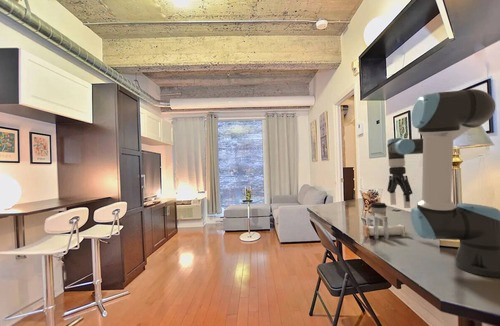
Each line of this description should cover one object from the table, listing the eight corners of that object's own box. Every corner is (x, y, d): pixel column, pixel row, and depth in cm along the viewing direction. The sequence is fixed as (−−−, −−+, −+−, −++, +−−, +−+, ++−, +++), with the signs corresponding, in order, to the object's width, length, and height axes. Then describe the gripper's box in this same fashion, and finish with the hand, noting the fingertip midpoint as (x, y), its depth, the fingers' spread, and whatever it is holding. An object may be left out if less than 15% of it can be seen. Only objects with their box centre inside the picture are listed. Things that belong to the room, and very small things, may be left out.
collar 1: (378, 238, 126) (377, 217, 127) (375, 238, 127) (374, 217, 127) (369, 232, 138) (368, 212, 139) (366, 232, 139) (365, 213, 139)
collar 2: (388, 238, 126) (387, 216, 126) (385, 238, 126) (384, 217, 126) (378, 232, 138) (377, 212, 138) (375, 232, 138) (374, 212, 138)
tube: (400, 233, 134) (399, 224, 134) (405, 236, 128) (404, 226, 128) (363, 234, 136) (362, 225, 136) (366, 237, 130) (366, 227, 130)
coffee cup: (384, 225, 153) (382, 202, 153) (391, 229, 143) (389, 204, 144) (368, 225, 153) (367, 202, 154) (374, 229, 144) (373, 204, 144)
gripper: (418, 165, 117) (422, 209, 115) (392, 167, 141) (395, 203, 140) (402, 166, 117) (405, 209, 116) (379, 167, 142) (381, 203, 141)
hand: (400, 206), depth 128 cm, fingers open, 13 cm apart
